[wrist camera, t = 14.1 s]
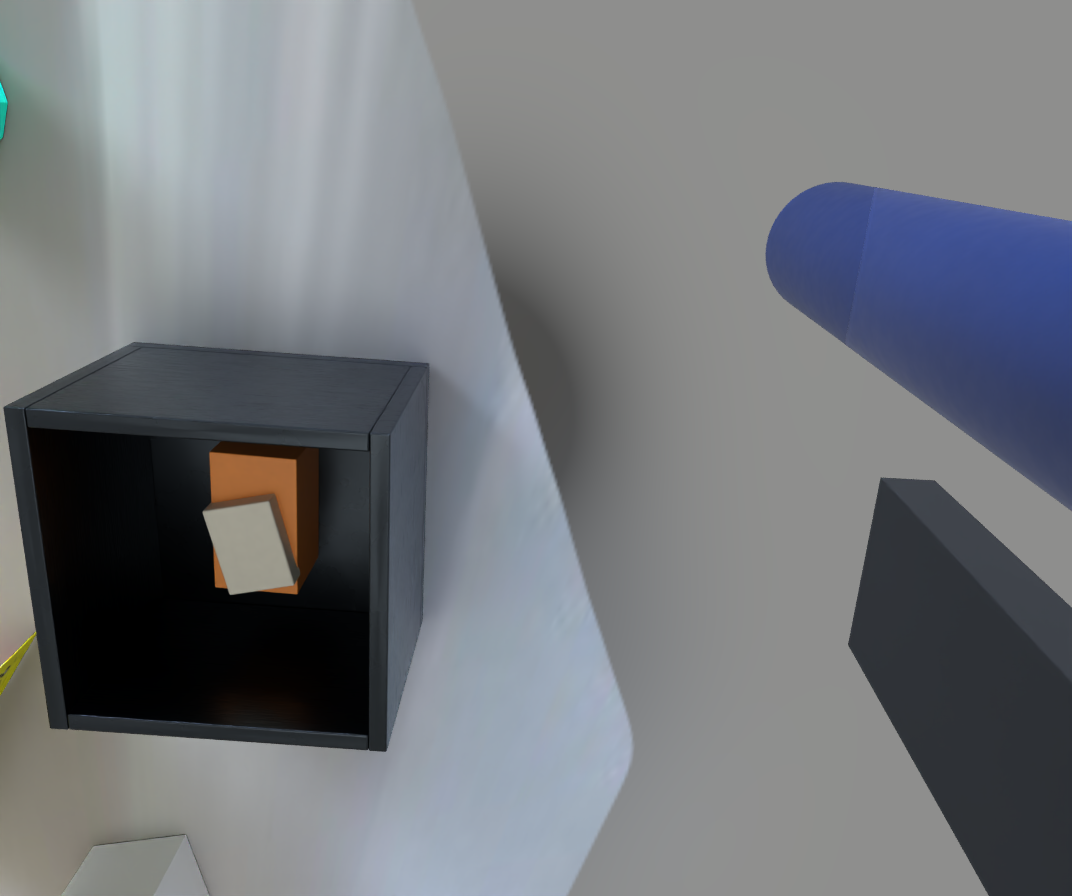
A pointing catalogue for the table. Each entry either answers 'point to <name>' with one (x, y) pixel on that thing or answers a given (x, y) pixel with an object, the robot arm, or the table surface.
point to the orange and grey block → (263, 516)
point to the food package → (13, 663)
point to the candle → (2, 110)
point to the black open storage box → (188, 556)
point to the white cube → (139, 870)
